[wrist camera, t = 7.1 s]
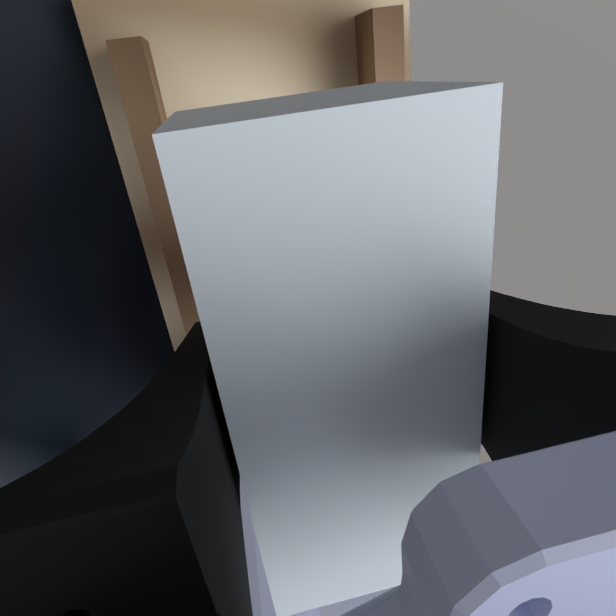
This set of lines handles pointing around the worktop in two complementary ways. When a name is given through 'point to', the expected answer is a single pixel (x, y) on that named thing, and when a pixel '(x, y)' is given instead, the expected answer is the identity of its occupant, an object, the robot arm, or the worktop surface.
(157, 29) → the cradle jig
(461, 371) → the block
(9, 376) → the worktop surface
